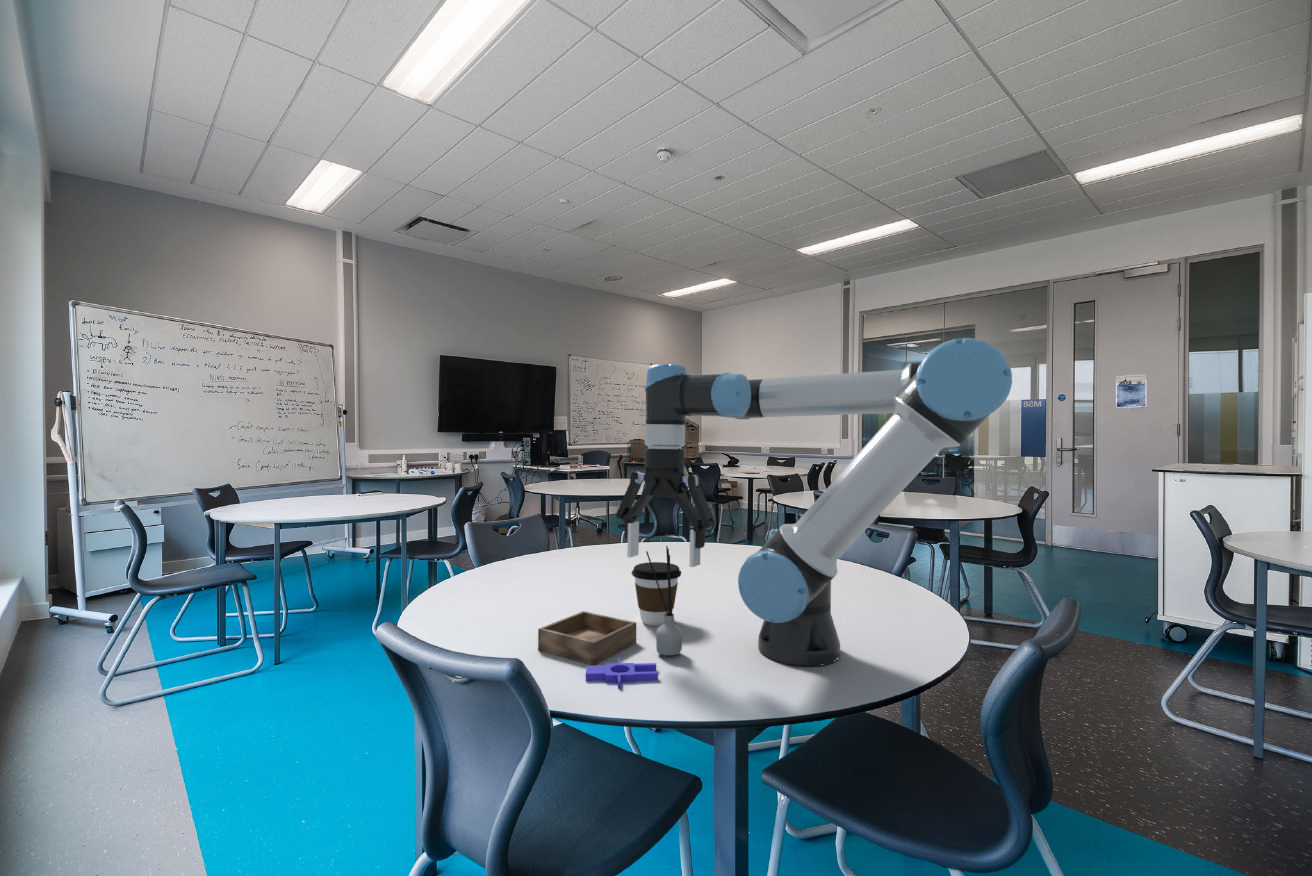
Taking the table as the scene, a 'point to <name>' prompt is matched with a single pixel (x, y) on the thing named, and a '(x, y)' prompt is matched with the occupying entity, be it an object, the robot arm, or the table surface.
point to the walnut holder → (587, 637)
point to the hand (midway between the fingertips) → (662, 560)
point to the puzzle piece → (630, 673)
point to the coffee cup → (654, 590)
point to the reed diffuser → (667, 622)
